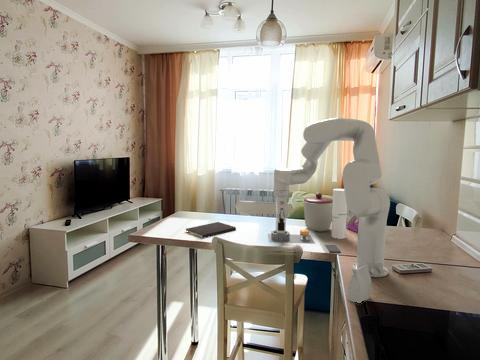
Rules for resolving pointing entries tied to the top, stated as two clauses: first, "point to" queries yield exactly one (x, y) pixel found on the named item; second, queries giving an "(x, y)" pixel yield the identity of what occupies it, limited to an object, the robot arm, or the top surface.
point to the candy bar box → (352, 221)
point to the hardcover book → (211, 229)
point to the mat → (333, 248)
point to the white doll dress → (360, 285)
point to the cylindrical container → (339, 214)
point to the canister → (318, 212)
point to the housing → (288, 238)
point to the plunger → (304, 233)
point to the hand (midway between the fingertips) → (280, 228)
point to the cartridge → (277, 225)
